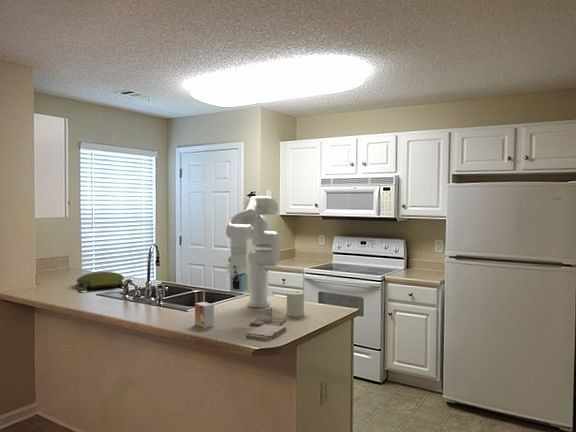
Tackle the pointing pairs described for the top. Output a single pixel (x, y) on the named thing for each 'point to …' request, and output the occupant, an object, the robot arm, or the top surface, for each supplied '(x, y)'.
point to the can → (295, 303)
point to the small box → (204, 314)
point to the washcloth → (265, 332)
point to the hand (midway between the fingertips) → (239, 287)
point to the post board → (261, 322)
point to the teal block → (240, 283)
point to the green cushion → (99, 280)
